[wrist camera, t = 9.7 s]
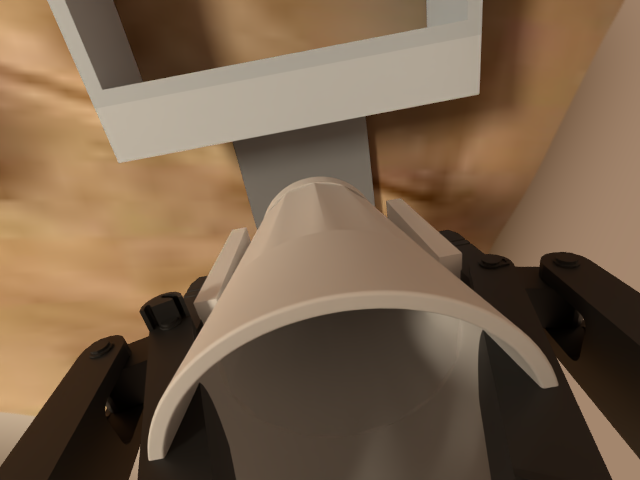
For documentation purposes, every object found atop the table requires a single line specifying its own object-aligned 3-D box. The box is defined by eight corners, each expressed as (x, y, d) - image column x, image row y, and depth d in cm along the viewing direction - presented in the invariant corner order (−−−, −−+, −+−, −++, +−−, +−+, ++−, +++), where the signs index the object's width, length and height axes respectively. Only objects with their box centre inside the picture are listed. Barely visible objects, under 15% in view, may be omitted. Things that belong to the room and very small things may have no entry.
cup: (411, 258, 18) (587, 495, 7) (291, 314, 19) (284, 596, 8) (355, 130, 15) (513, 197, 4) (217, 205, 16) (41, 421, 5)
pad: (233, 138, 23) (231, 139, 23) (363, 113, 23) (365, 114, 23) (265, 254, 27) (265, 258, 27) (376, 234, 27) (378, 236, 27)
